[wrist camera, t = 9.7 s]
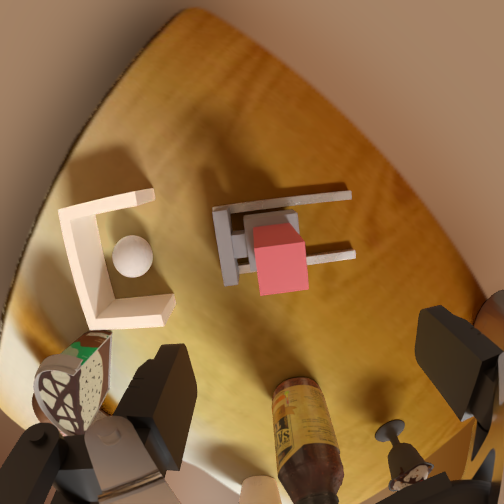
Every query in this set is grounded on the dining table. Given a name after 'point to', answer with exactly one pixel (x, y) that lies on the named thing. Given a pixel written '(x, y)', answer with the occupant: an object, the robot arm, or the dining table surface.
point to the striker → (263, 250)
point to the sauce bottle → (305, 443)
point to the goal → (95, 271)
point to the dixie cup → (259, 491)
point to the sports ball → (132, 256)
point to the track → (292, 201)
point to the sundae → (402, 458)
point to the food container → (75, 382)
